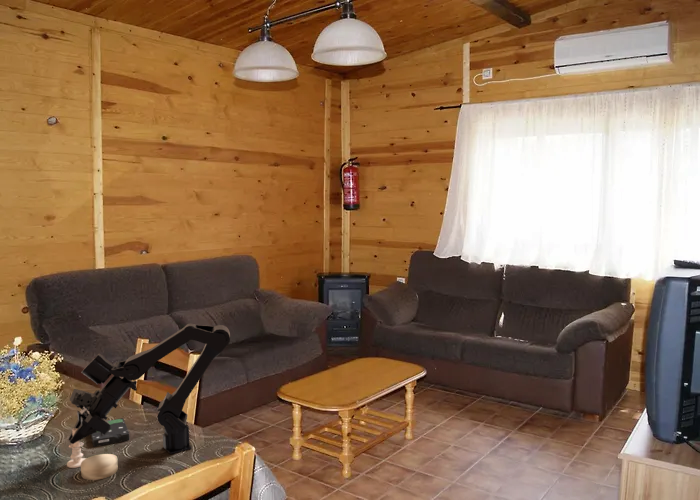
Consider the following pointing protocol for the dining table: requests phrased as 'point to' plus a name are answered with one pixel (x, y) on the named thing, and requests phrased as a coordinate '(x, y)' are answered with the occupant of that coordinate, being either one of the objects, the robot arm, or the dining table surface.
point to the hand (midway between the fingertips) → (70, 441)
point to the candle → (75, 453)
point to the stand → (99, 466)
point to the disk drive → (112, 434)
